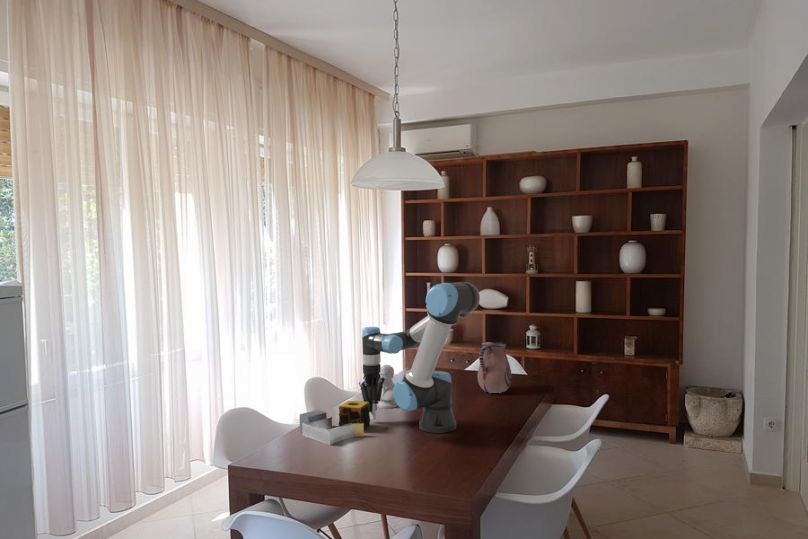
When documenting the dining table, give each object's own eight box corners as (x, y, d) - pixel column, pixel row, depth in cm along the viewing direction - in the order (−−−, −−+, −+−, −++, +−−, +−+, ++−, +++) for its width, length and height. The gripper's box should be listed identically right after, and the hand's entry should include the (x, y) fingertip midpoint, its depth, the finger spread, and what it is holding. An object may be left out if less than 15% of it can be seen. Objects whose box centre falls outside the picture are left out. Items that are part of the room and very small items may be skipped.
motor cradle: (365, 435, 220) (364, 418, 219) (332, 446, 208) (332, 427, 208) (327, 423, 237) (326, 407, 236) (295, 432, 225) (294, 415, 225)
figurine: (395, 409, 257) (394, 367, 256) (370, 407, 262) (370, 365, 261) (403, 404, 265) (403, 364, 265) (379, 402, 270) (379, 362, 270)
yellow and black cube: (361, 432, 224) (360, 408, 223) (338, 430, 227) (337, 406, 227) (370, 425, 233) (370, 401, 233) (348, 423, 236) (348, 399, 236)
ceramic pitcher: (517, 390, 289) (516, 342, 289) (501, 399, 272) (500, 348, 271) (486, 386, 299) (485, 340, 298) (468, 395, 281) (468, 345, 281)
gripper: (377, 360, 243) (377, 413, 244) (354, 364, 234) (354, 420, 235) (388, 362, 238) (389, 417, 239) (365, 367, 229) (366, 424, 230)
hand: (372, 418), depth 237 cm, fingers closed
